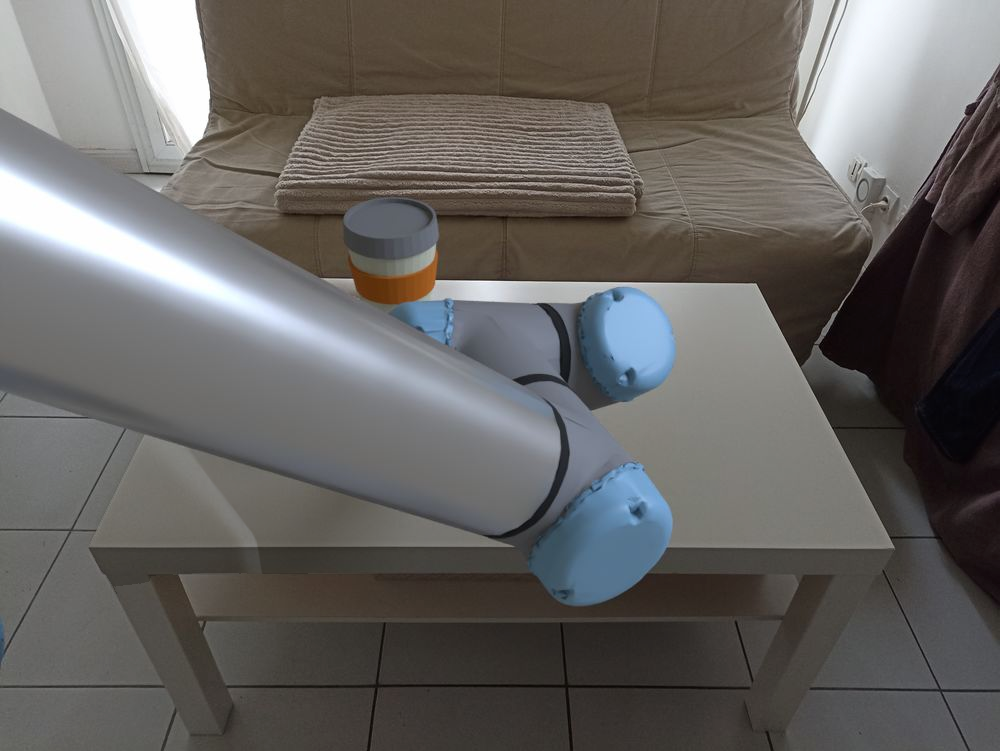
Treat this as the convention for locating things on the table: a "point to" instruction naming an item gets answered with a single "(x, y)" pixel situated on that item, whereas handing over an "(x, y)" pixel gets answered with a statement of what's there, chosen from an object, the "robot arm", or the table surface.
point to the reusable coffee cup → (392, 250)
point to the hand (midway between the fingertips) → (414, 432)
